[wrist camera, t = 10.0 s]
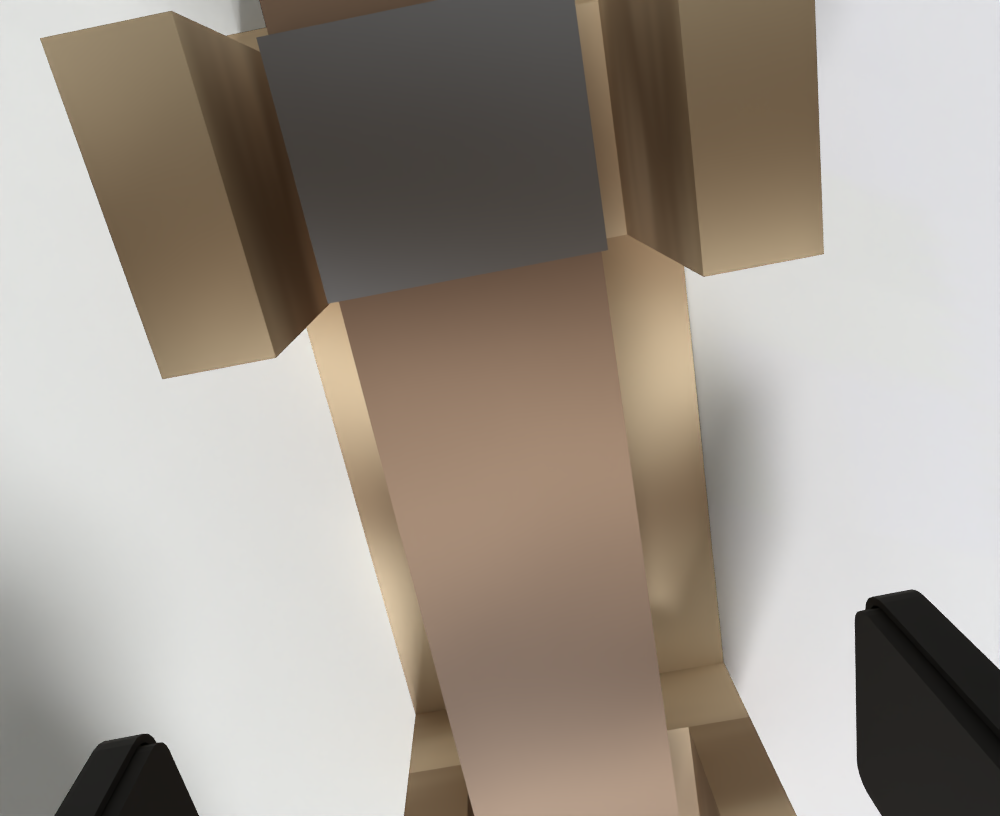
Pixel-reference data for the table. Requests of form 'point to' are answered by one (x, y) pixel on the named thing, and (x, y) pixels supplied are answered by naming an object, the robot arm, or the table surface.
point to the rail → (487, 375)
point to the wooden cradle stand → (627, 267)
